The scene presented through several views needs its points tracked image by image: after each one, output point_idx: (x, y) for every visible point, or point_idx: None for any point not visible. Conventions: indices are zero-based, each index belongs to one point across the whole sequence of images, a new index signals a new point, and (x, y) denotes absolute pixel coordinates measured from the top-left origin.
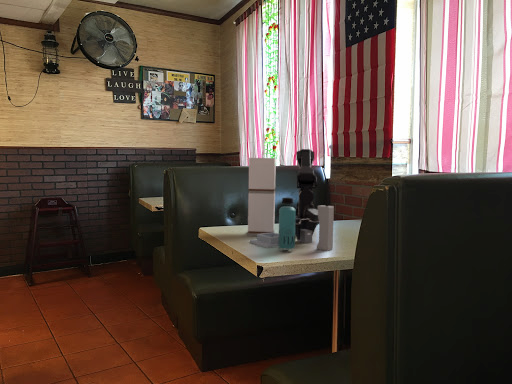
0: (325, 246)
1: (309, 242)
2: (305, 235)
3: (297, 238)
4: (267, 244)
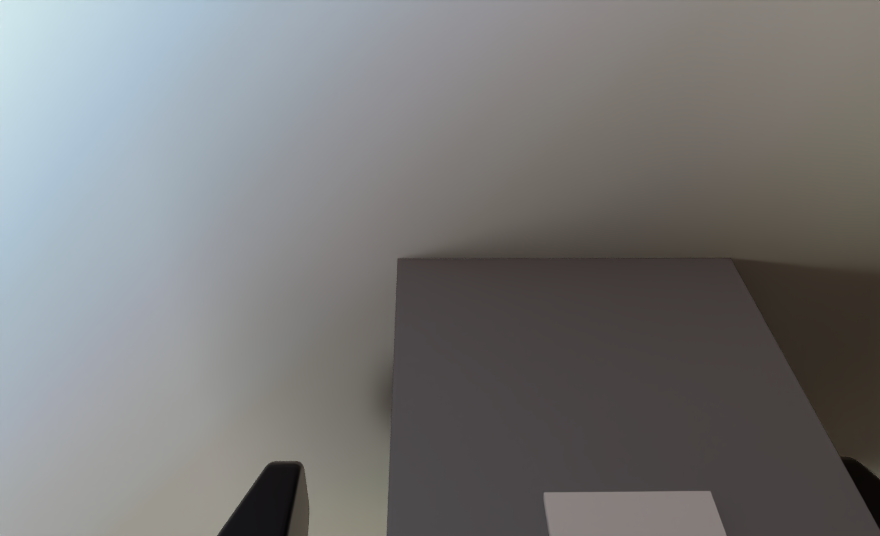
0: None
1: (524, 262)
2: (826, 478)
3: None
4: None
